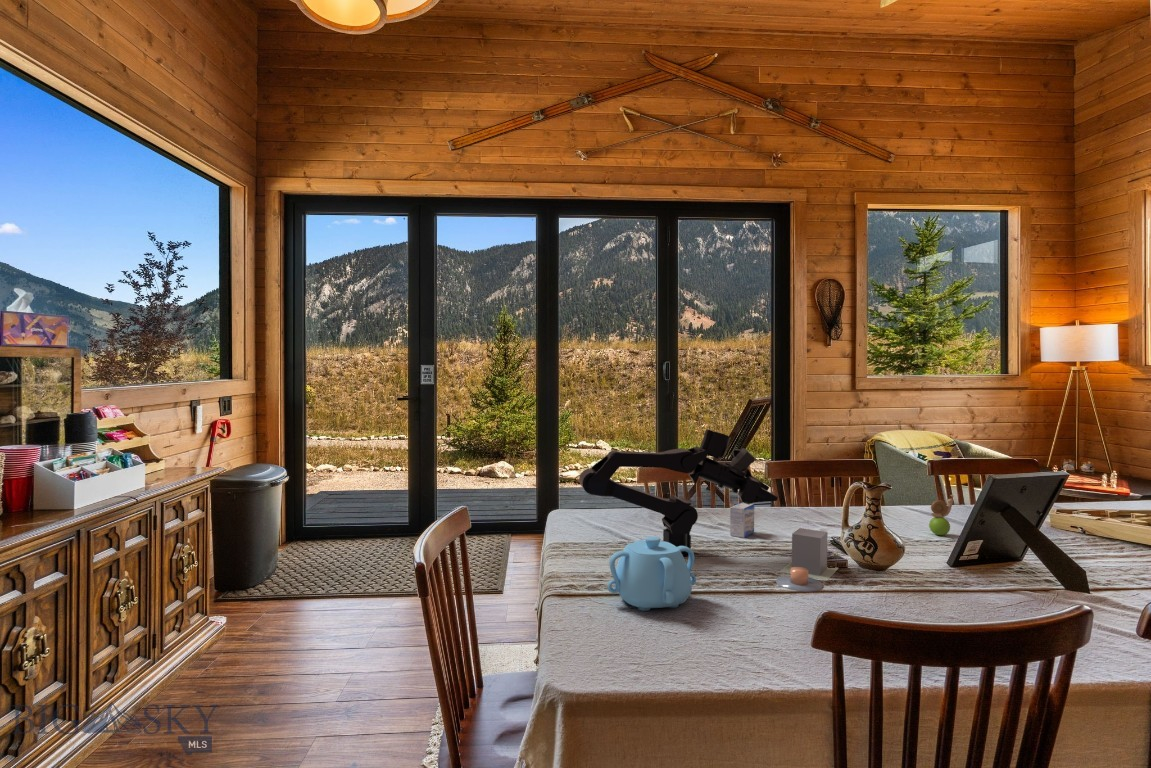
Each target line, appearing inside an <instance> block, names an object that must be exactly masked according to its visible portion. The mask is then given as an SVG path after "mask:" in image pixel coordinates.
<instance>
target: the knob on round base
mask: <svg viewBox="0 0 1151 768" xmlns="http://www.w3.org/2000/svg"><path fill="white" fill-rule="evenodd" d="M775 582H776V584H777V585H778V586H780V587H782V588H784V589H787V590H790V591H795V592H796V591H797V592H809V593H810V592H817V591H821V590H822V589H823V583H822V582H821V581H819V579H816V578H811V577H808V569H806V568H802V567H792V568H791V574H790V575H789V574H788V575H782V576H779V577H777V578H776V580H775Z"/></svg>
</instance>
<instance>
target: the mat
mask: <svg viewBox="0 0 1151 768" xmlns="http://www.w3.org/2000/svg"><path fill="white" fill-rule="evenodd" d="M791 568H792V560H791V561H790V562H789V563H787V565H785V566H784V567H783V568H782V569H780V570H779V572H780V573H785V574H790V575H791ZM837 570H839V567H835V568H828V567H827V569H826V570H825V571H824V572H823V573H822V574H821V575H820V576H817V575H812V574H808V577H809V578H813V579H815V580H822V581H827V582H828V581H829V580H830V578H832V576H833V575H834V574H835V573H836V571H837Z"/></svg>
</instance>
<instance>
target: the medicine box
mask: <svg viewBox="0 0 1151 768" xmlns="http://www.w3.org/2000/svg"><path fill="white" fill-rule="evenodd" d="M729 525H730V526H729V536H731V537H737V538H742V539H744V538H747V537H749V536H750V535H752V534H754V533H755V503H752V504H750V505H749V504H746V503H743V502H739V503H737V504H734V505H733V506H731V507H730V508H729Z"/></svg>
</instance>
